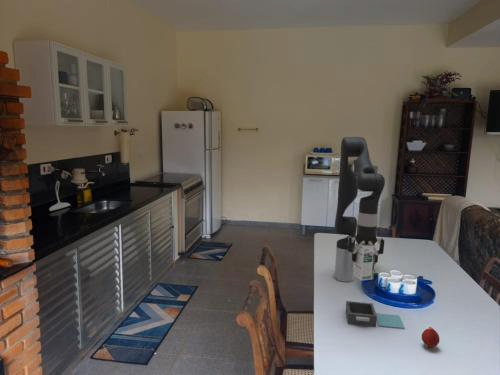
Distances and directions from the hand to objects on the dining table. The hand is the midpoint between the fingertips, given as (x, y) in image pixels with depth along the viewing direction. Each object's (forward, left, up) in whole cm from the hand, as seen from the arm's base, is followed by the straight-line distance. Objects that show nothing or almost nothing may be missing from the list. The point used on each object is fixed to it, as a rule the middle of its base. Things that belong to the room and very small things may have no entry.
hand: (364, 262), depth 149 cm
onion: (+16, +23, -25) cm, 37 cm away
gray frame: (0, 0, -24) cm, 24 cm away
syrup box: (0, 0, -7) cm, 7 cm away
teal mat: (0, +12, -24) cm, 27 cm away
